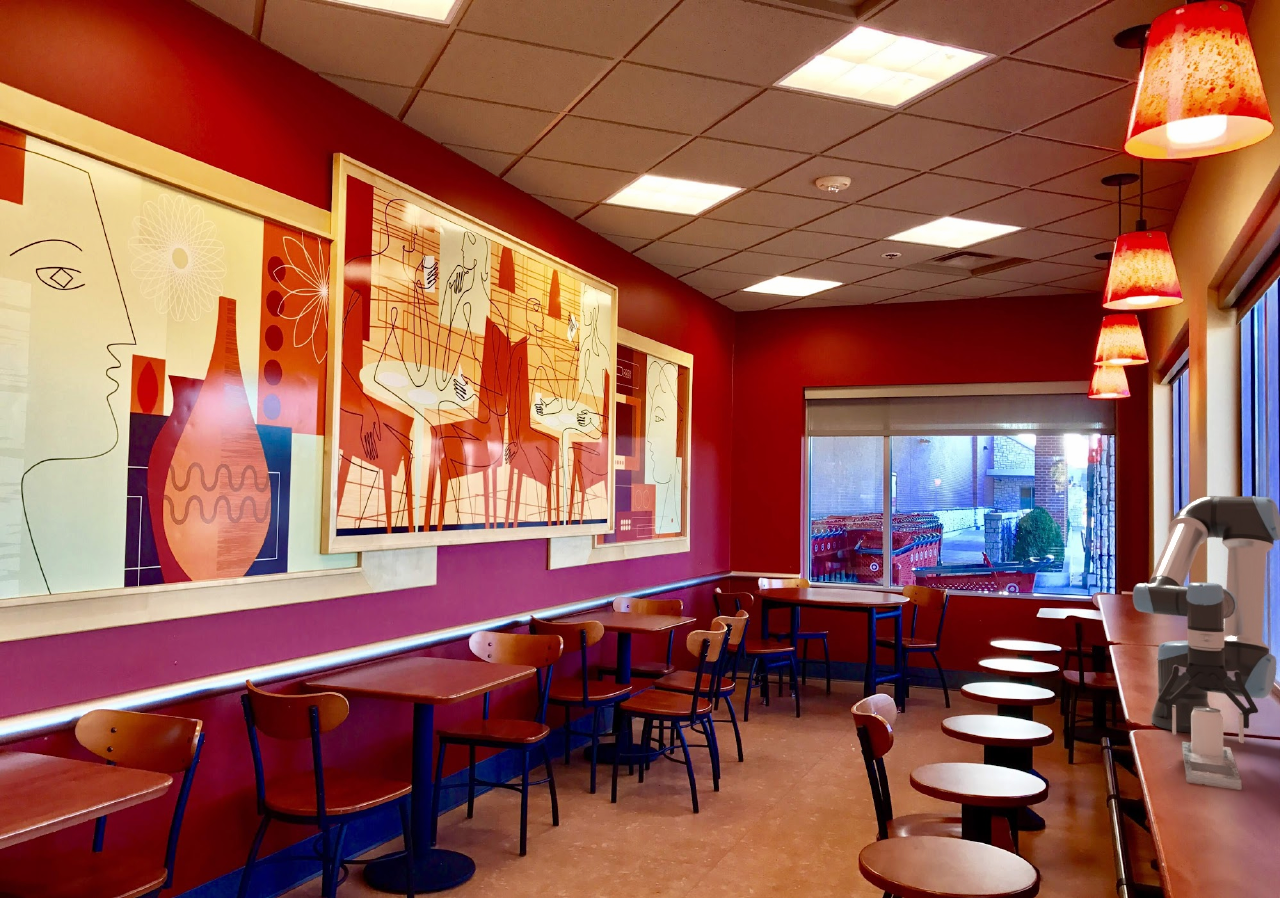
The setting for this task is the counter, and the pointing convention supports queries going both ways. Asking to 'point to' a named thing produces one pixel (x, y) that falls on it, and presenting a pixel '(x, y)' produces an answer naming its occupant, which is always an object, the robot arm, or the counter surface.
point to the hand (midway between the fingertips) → (1207, 737)
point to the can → (1207, 731)
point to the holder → (1211, 768)
